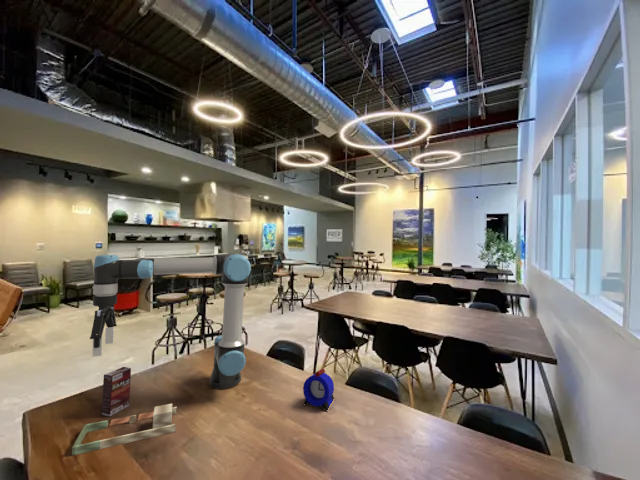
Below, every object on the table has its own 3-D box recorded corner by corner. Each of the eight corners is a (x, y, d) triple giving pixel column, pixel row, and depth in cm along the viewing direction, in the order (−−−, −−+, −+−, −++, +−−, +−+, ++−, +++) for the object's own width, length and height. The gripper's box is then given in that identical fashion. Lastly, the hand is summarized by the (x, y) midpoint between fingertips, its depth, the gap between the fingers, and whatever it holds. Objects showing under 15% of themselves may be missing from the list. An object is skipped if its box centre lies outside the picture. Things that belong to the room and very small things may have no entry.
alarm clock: (301, 406, 123) (302, 371, 123) (312, 392, 134) (313, 361, 135) (327, 413, 118) (328, 377, 119) (337, 398, 130) (337, 365, 130)
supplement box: (110, 417, 112) (111, 376, 112) (101, 414, 113) (102, 374, 114) (130, 405, 120) (131, 367, 121) (121, 403, 122) (123, 366, 122)
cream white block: (171, 418, 112) (172, 403, 112) (171, 427, 107) (171, 411, 107) (154, 422, 110) (154, 406, 110) (152, 431, 104) (153, 415, 104)
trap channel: (176, 407, 120) (176, 401, 120) (175, 431, 104) (175, 425, 104) (88, 425, 107) (88, 418, 107) (71, 455, 92) (72, 447, 92)
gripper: (104, 289, 121) (103, 340, 121) (80, 301, 98) (78, 363, 98) (125, 289, 124) (123, 338, 123) (106, 300, 101) (104, 360, 100)
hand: (103, 349), depth 111 cm, fingers open, 13 cm apart
